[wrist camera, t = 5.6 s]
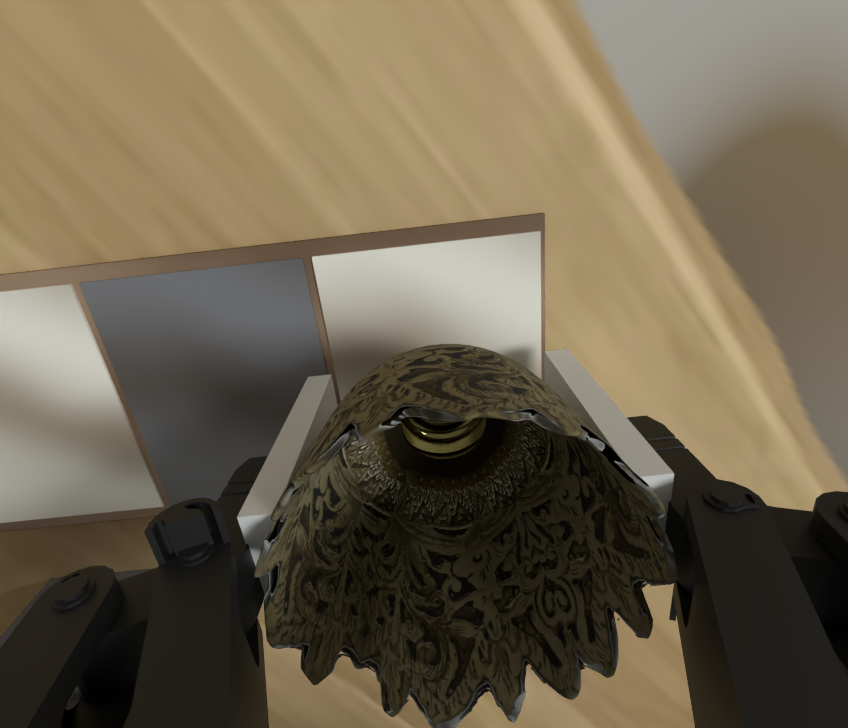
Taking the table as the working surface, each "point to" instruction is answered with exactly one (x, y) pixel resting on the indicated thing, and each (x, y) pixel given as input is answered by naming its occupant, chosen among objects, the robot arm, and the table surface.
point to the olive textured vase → (461, 538)
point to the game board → (230, 353)
